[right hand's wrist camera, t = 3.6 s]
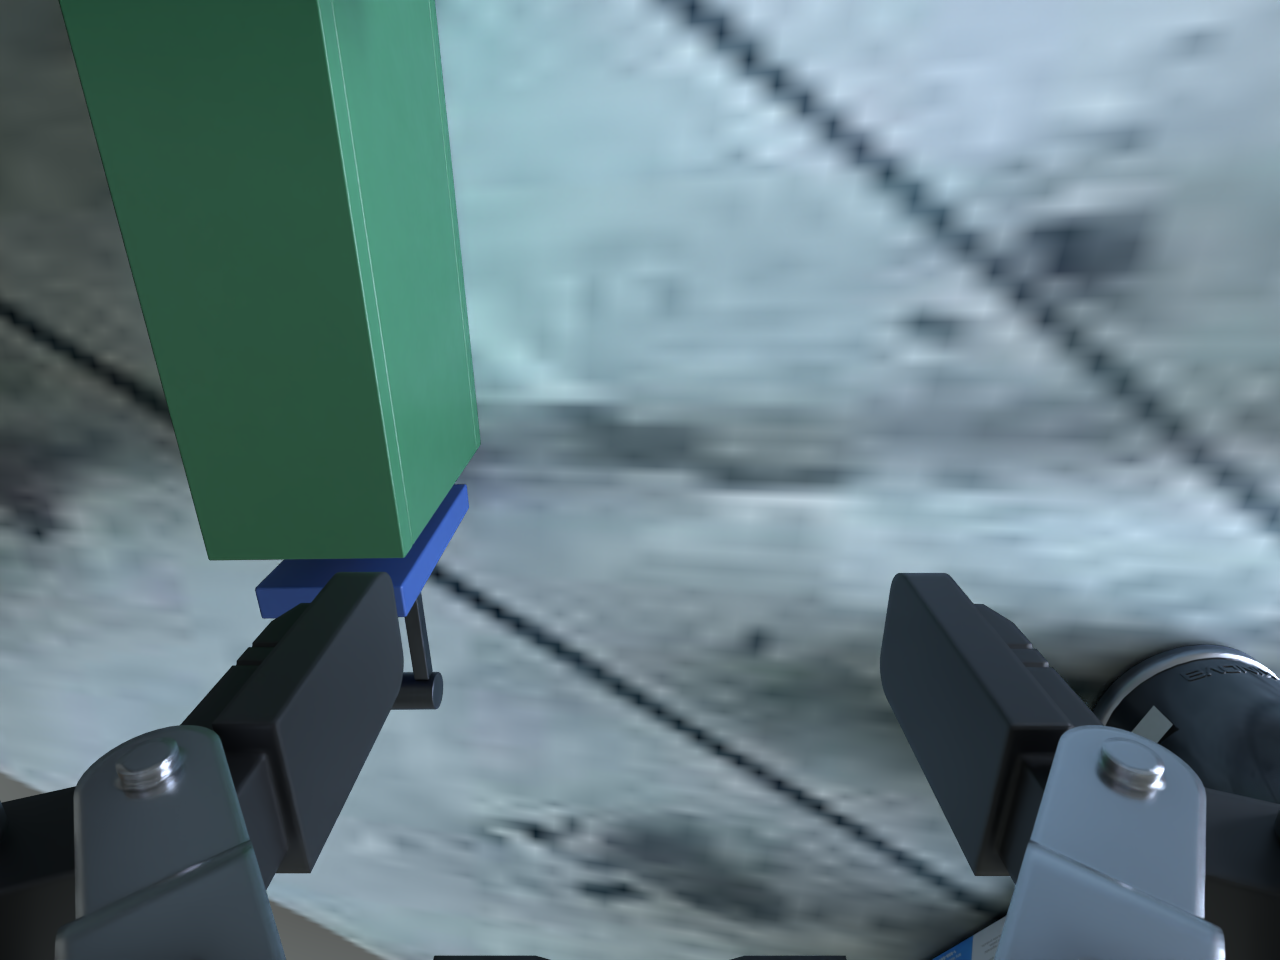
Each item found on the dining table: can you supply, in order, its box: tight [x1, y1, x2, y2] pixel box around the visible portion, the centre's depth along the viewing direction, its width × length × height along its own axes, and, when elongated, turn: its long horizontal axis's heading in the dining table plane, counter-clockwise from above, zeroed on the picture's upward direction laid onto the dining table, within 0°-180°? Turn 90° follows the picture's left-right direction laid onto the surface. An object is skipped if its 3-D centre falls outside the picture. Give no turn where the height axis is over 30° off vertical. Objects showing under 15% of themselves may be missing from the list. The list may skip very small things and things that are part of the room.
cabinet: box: [59, 0, 481, 560], centre depth 23 cm, size 20×6×11 cm, turn 1°
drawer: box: [255, 484, 469, 710], centre depth 25 cm, size 25×5×9 cm, turn 1°
